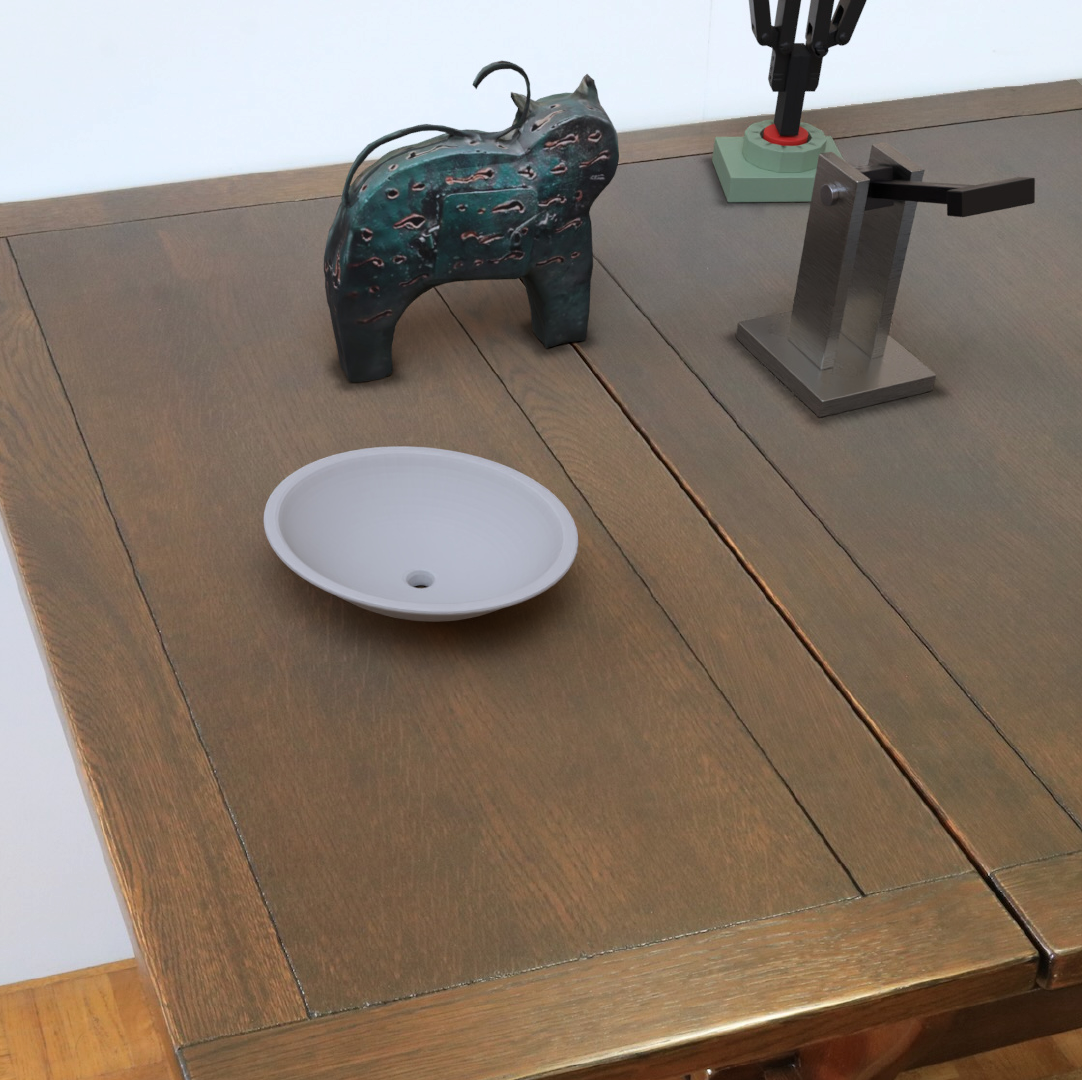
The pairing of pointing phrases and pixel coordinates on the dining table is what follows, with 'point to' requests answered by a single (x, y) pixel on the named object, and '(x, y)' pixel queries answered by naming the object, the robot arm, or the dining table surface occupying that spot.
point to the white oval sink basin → (420, 532)
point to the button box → (769, 165)
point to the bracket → (845, 296)
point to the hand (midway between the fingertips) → (785, 128)
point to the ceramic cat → (471, 221)
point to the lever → (947, 193)
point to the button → (785, 137)
